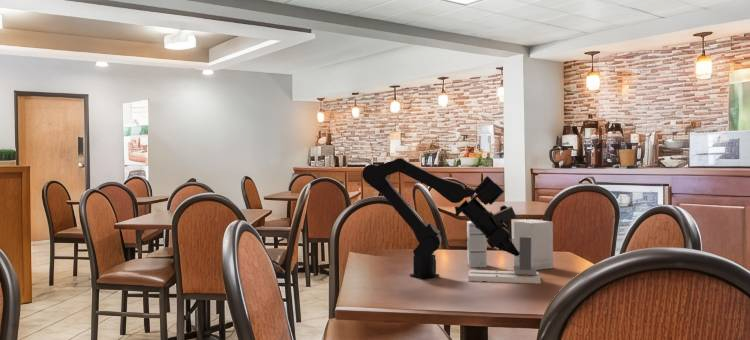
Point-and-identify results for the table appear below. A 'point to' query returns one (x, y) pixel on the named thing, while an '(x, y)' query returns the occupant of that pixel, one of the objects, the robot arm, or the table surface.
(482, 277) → the fader base
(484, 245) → the syrup box
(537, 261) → the supplement box
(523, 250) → the fader
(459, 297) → the table surface
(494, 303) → the table surface
